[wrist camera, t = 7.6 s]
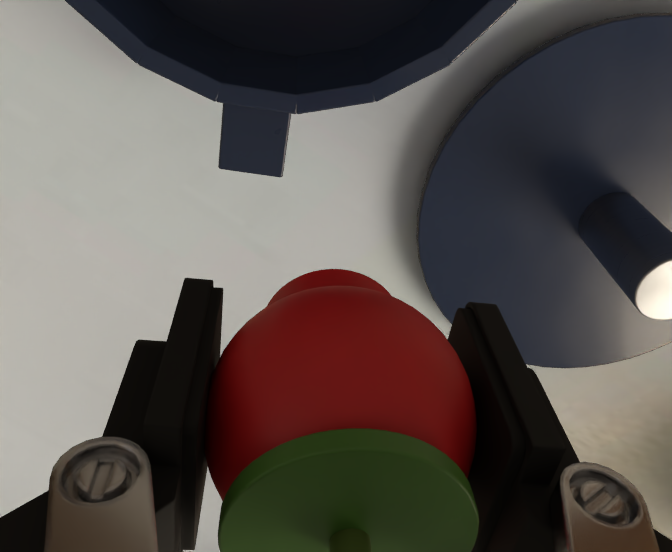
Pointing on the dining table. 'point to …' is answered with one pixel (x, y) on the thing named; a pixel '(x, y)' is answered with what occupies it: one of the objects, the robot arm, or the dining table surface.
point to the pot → (289, 56)
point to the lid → (562, 197)
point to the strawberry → (341, 426)
